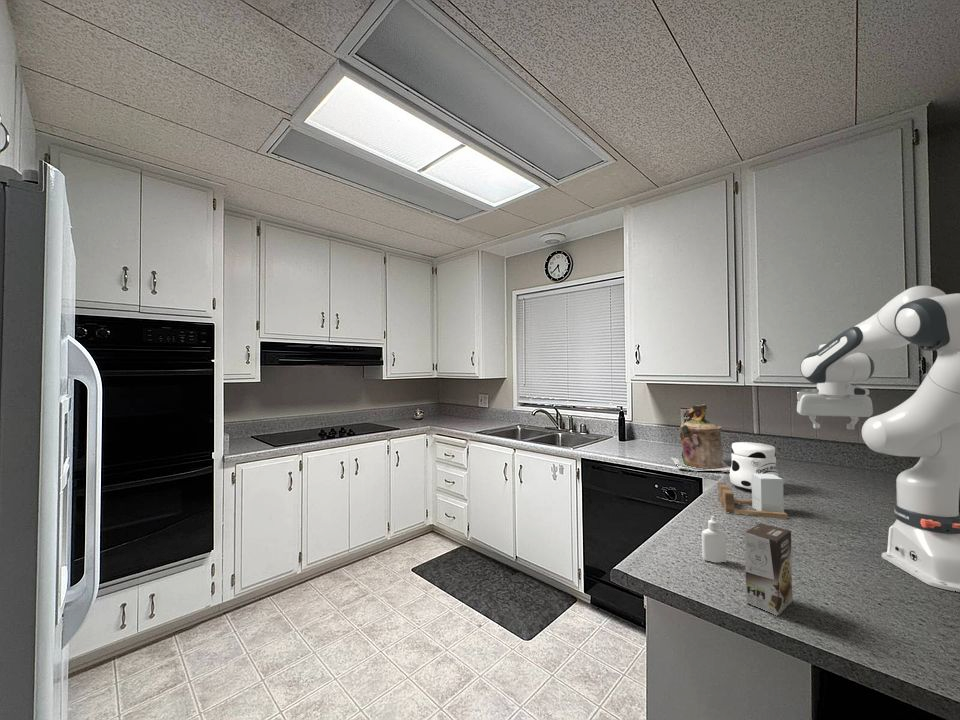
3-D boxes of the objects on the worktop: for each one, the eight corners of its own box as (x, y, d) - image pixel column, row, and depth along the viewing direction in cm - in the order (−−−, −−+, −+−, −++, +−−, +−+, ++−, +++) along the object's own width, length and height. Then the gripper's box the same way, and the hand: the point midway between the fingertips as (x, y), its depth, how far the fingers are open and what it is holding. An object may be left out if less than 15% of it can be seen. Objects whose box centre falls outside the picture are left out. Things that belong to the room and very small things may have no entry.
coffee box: (778, 617, 87) (777, 541, 87) (744, 603, 92) (743, 531, 92) (794, 602, 92) (792, 530, 92) (761, 589, 97) (759, 521, 97)
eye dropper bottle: (704, 554, 115) (703, 511, 115) (727, 560, 112) (726, 516, 112) (700, 560, 112) (699, 516, 112) (724, 566, 108) (723, 521, 108)
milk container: (779, 498, 160) (777, 451, 160) (727, 490, 170) (726, 447, 170) (780, 486, 173) (778, 444, 173) (732, 480, 184) (731, 440, 184)
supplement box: (784, 515, 142) (784, 479, 142) (760, 514, 143) (760, 478, 144) (774, 508, 149) (773, 473, 149) (751, 507, 151) (750, 472, 151)
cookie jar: (721, 462, 216) (719, 401, 217) (736, 474, 193) (735, 406, 193) (670, 459, 223) (668, 401, 223) (679, 471, 199) (677, 406, 200)
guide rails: (787, 519, 139) (787, 514, 139) (726, 513, 145) (726, 509, 145) (775, 506, 151) (774, 502, 151) (719, 501, 157) (719, 497, 157)
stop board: (734, 514, 144) (733, 494, 144) (725, 513, 145) (725, 493, 145) (726, 501, 156) (725, 483, 157) (718, 501, 157) (718, 483, 157)
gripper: (800, 389, 142) (800, 429, 143) (875, 390, 135) (875, 432, 135) (793, 387, 148) (793, 425, 148) (865, 388, 141) (865, 428, 141)
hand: (833, 428), depth 142 cm, fingers open, 8 cm apart
